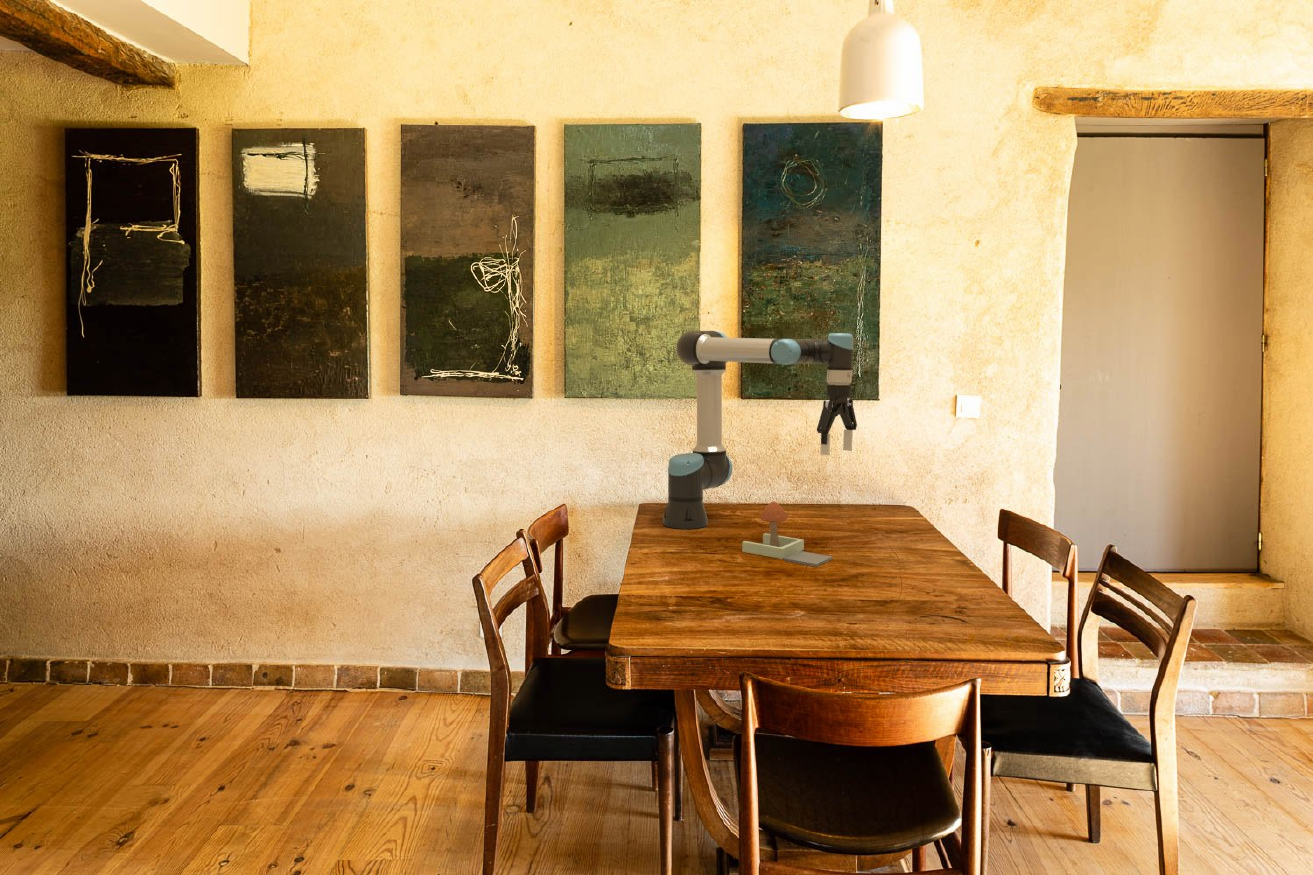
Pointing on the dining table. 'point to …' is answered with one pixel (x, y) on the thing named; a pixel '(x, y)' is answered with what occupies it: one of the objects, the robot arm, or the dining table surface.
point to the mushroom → (773, 520)
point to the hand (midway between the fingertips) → (836, 452)
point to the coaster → (808, 558)
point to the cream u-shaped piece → (774, 547)
